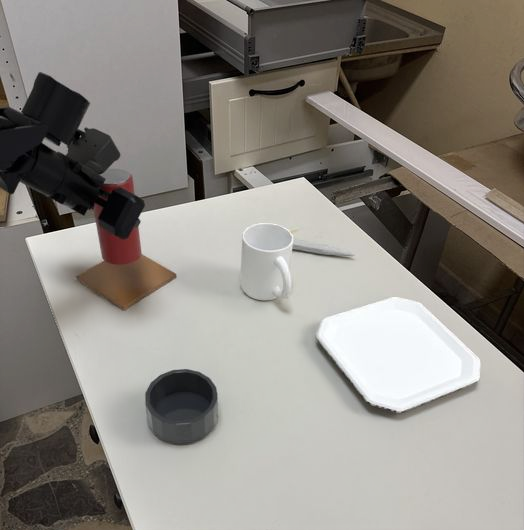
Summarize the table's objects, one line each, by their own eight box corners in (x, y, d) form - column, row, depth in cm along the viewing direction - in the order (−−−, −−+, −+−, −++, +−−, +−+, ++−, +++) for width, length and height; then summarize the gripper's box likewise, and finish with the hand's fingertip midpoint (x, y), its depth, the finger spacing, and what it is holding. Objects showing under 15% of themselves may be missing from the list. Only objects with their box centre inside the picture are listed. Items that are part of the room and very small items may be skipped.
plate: (406, 300, 91) (409, 290, 90) (490, 382, 79) (496, 372, 77) (304, 332, 84) (305, 322, 83) (379, 428, 71) (382, 418, 70)
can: (123, 268, 83) (111, 188, 75) (93, 257, 85) (78, 177, 77) (149, 252, 87) (141, 174, 79) (120, 241, 90) (108, 164, 81)
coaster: (124, 310, 85) (123, 307, 84) (76, 279, 90) (75, 276, 89) (176, 277, 92) (176, 273, 91) (129, 250, 97) (129, 246, 96)
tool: (354, 257, 100) (356, 248, 98) (353, 262, 99) (355, 253, 97) (266, 240, 102) (267, 232, 100) (264, 245, 101) (265, 236, 99)
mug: (306, 308, 88) (315, 257, 81) (263, 321, 85) (267, 269, 78) (273, 268, 96) (278, 218, 88) (232, 279, 93) (233, 228, 85)
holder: (148, 448, 67) (145, 427, 64) (148, 393, 73) (145, 371, 70) (220, 441, 68) (220, 420, 65) (213, 388, 75) (213, 366, 72)
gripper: (126, 140, 65) (191, 191, 79) (34, 97, 72) (108, 151, 86) (85, 220, 66) (156, 256, 80) (-2, 170, 73) (77, 211, 87)
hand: (124, 215), depth 83 cm, fingers closed on can, 6 cm apart
